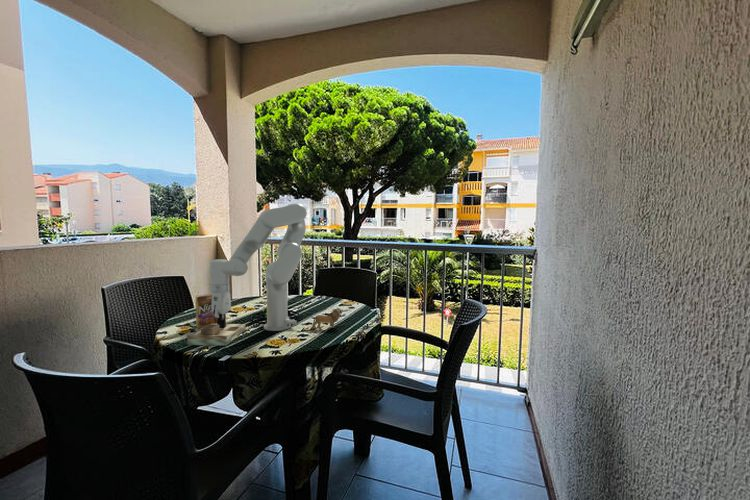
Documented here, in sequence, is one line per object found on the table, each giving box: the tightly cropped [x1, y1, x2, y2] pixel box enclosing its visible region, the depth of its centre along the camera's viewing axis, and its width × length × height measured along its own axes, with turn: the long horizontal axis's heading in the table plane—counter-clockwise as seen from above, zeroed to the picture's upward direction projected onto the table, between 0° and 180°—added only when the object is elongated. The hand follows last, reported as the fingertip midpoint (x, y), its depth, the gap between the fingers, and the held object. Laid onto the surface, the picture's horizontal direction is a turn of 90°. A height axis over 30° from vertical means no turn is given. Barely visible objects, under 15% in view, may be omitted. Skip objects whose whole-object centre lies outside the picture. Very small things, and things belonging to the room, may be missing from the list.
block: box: [200, 324, 220, 335], centre depth 150 cm, size 5×6×4 cm
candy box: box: [195, 293, 217, 329], centre depth 171 cm, size 9×4×15 cm, turn 123°
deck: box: [186, 323, 246, 346], centre depth 157 cm, size 16×21×4 cm
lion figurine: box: [310, 308, 341, 330], centre depth 171 cm, size 15×5×9 cm, turn 114°
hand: (221, 327), depth 160 cm, fingers closed
